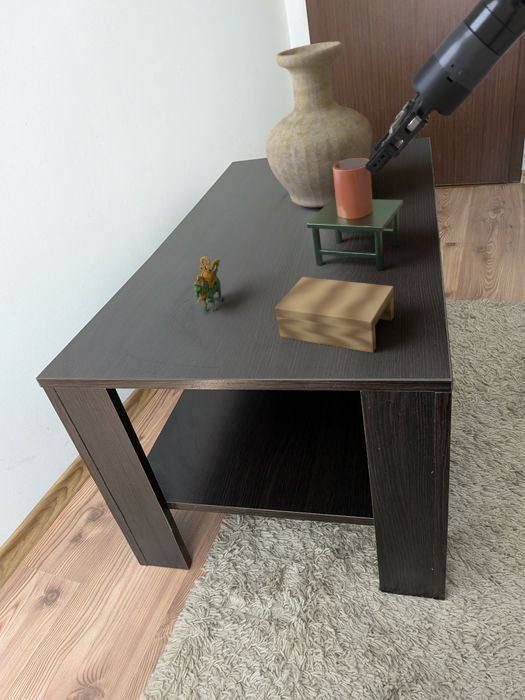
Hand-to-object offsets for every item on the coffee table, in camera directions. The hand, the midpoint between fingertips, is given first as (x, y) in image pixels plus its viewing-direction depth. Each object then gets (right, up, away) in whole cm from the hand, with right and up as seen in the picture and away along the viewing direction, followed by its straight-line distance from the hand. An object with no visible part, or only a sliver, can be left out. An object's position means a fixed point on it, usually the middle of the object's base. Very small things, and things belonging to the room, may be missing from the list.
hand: (374, 161), depth 80 cm
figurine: (-26, -22, +6) cm, 34 cm away
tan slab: (-7, -26, -6) cm, 28 cm away
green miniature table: (0, -13, +11) cm, 17 cm away
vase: (-4, +4, +35) cm, 35 cm away
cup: (-2, -6, +6) cm, 9 cm away
